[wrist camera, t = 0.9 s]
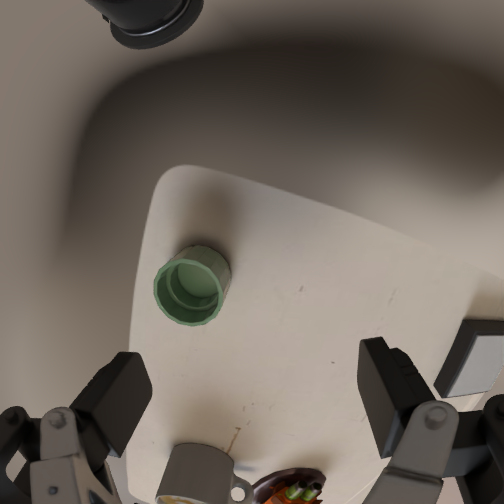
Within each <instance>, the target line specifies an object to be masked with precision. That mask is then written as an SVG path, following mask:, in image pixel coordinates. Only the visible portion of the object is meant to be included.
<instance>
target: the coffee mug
mask: <svg viewBox="0 0 504 504" xmlns="http://www.w3.org/2000/svg"><path fill="white" fill-rule="evenodd" d="M233 468H234V464H233V461H232V459H231V458H230V457H229V456H228V455H227V454H225V453H224V452H222V451H220V450H218V449H216V448H213V447H210V446H206V445H202V444H194V443H187V444H181V445H178V446H176V447H175V448H173V450H172V452H171V455H170V458H169V461H168V463H167V466H166V469H165V472H164V475H163V477H162V480H161V483H160V486H159V489H158V491H157V494H156V497H155V502H156V504H252V502H253V497H254V490H253V487H252V486H251V484H250V483H249V482H247V481H246V480H244V479H241V478H239V477H237V476H236V475H235V474H234V472H233ZM235 487H239V488H242V489H243V490H244V492H245V498H244V500H242V501H239V502H238V501H234V500H233V499H232V497H231V490H232V489H233V488H235Z"/></svg>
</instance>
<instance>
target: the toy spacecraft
mask: <svg viewBox="0 0 504 504" xmlns="http://www.w3.org/2000/svg"><path fill="white" fill-rule="evenodd" d="M325 480H326V478H325V476H324V475H323V474H322V473H321V472H319V471H316V470H312V469H288V470H284V471H279V472H275V473H273V474H271V475H269V476H267V477H264V478H262V479H260V480H259V481H258V482H257V483H256V484H254V485H253V486H252V487H253V490H254V497H253V502H252V504H320V503H321V502H322V501H323V500H316V499H317V498H316V497H317V496H319V495H320V494H321V493H322V490H321V489H322V488H323V486H324V483H325Z"/></svg>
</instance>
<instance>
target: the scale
mask: <svg viewBox="0 0 504 504" xmlns="http://www.w3.org/2000/svg"><path fill="white" fill-rule="evenodd" d="M503 365H504V321H480V320H463V321H462V324H461V327H460V329H459V332H458V334H457V336H456V339H455V341H454V343H453V346H452V348H451V350H450V352H449V355H448V357H447V359H446V361H445V363H444V365H443V367H442V369H441V371H440V373H439V375H438V377H437V379H436V381H435V383H434V387H435V389H436V390H437V392H438V393H439V395H440V396H441V398H450V397H458V396H465V395H471V394H477V393H483V392H488V391H489V390H490V389H491V387H492V385H493V384H494V382H495V380H496V378H497V376H498V375H499V373H500V371H501V369H502V367H503Z"/></svg>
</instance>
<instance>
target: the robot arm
mask: <svg viewBox="0 0 504 504" xmlns="http://www.w3.org/2000/svg"><path fill="white" fill-rule="evenodd" d="M85 1H86V2H88V3H89V4H90V5H92V6H93V7H94V8H95V9H97V10H98V11H99V12H100V13H102V16H103V19H105V20H106V21H107V22H108V23H109V20H110V21H112V22H113V23H114V24H115V25H116V26H118V28H119V29H120V30H121V31H122V32H123V33H125V34H126V35H128V36H131V37H148V36H152V35H155V34H157V33H160V32H162V31H164V30H166V29H168V28H169V27H171V26H172V25H174V24H175V23H176V22H177V21H178V20H179V19H180V18H181V17H182V16H183V15H184V14H185V13H186V11H187V9H188V8H189V5H190V2H191V0H85ZM108 19H109V20H108ZM357 383H358V389H359V392H360V395H361V398H362V401H363V404H364V407H365V410H366V413H367V416H368V419H369V422H370V425H371V429H372V432H373V435H374V438H375V441H376V444H377V448H378V451H379V454H380V458H381V459H383V458H387V457H391V456H392V458H391V460H390V462H389V463H388V465H387V467H385V468H384V469H383V471H382V473H381V474H380V476H379V477H378V479H377V481H376V483H375V484H374V486H373V487H372V489H371V491H370V492H369V494H368V495H367V497H366V498H365V500H364V501H363V503H362V504H436V502H437V500H438V497H439V495H440V492H441V490H442V486H443V482H444V481H443V480H442V478H445V477H455V478H456V481H457V484H458V487H459V490H460V492H461V495H462V498H463V502H464V504H504V394H500V395H496V396H493V397H491V398H490V399H489V400H488V401H487V402H486V404H485V406H484V408H483V410H478V411H468V412H457V410H456V409H455V408H454V407H453V406H452V405H451V404H449V403H447V402H444V401H438V400H436V398H435V397H434V395H433V394H432V392H431V390H430V389H429V387H428V386H427V384H426V382H425V381H424V379H423V378H422V376H421V375H420V373H418V370H417V368H416V367H415V365H413V362H412V361H411V359H410V358H409V356H408V355H407V354H406V353H404V352H403V351H401V350H400V349H398V348H392V349H389V347H388V345H387V344H386V342H385V340H384V339H383V337H381V336H380V337H375V338H369V339H363V340H361V341H360V344H359V358H358V370H357ZM151 397H152V384H151V381H150V379H149V376H148V373H147V371H146V368H145V365H144V362H143V360H142V357H141V355H140V354H139V353H137V352H119V353H118V354H117V355H116V356H115V357H114V359H113V360H112V361H111V362H110V363H109V364H107V365H106V366H104V367H103V368H101V369H100V370H99V371H98V372H97V373H96V374H95V376H94V377H93V380H90V382H89V383H88V386H86V387H85V388H84V389H83V390H82V392H81V393H80V394H79V395H78V396H77V398H76V399H75V400H74V401H73V403H72V404H71V405H70V406H69V408H67V407H57V408H54V409H52V410H50V411H48V412H47V413H46V414H45V415H44V416H43V418H30V417H29V415H28V414H27V412H26V411H25V410H24V408H23V407H20V406H14V407H10V408H8V409H6V410H5V411H4V412H3V413H2V414H1V415H0V504H122V502H121V500H120V498H119V495H118V492H117V489H116V486H115V483H114V480H113V478H112V474H111V471H110V468H109V465H108V463H107V461H106V460H105V459H106V458H107V456H108V455H110V456H114V457H118V458H121V456H122V453H123V452H124V450H125V448H126V446H127V444H128V442H129V440H130V438H131V436H132V434H133V432H134V430H135V428H136V426H137V425H138V423H139V421H140V419H141V417H142V415H143V413H144V411H145V409H146V407H147V405H148V403H149V402H150V400H151ZM17 450H18V451H19V452H20V453H21V454H22V455H23V457H24V458H25V459H26V460H27V461H26V463H25V465H24V467H23V468H22V469H21V471H20V472H19V474H18V475H17V477H16V479H15V480H14V482H12V481H11V480H10V479H9V478H8V477H7V475H6V466H7V464H8V463H9V462H10V460H11V458H12V457H13V456H14V454H15V453H16V451H17ZM134 504H138V503H134Z"/></svg>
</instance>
